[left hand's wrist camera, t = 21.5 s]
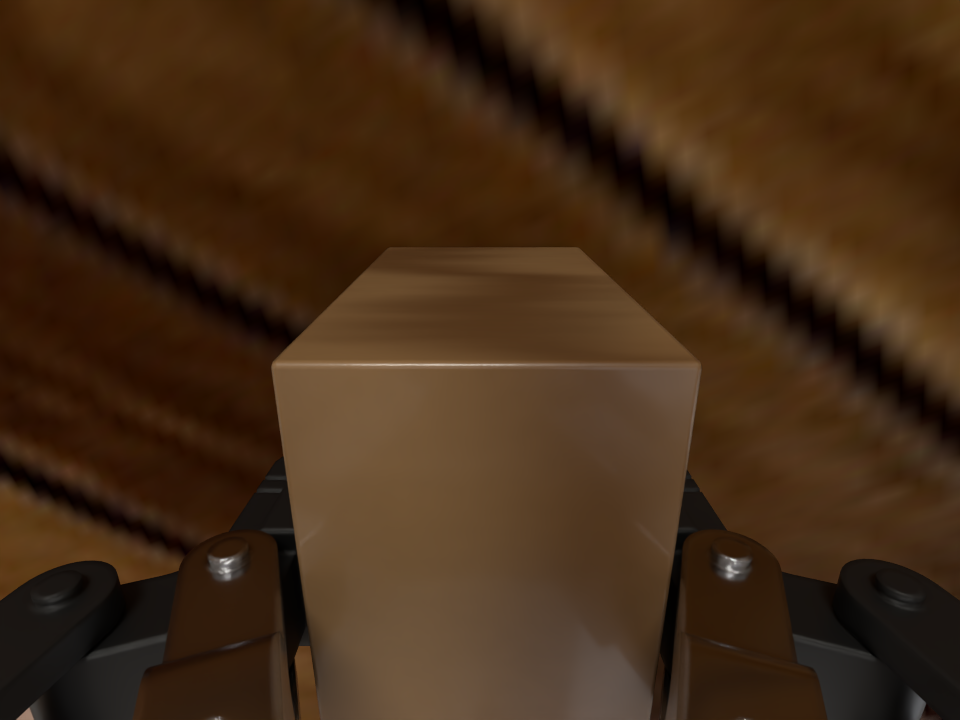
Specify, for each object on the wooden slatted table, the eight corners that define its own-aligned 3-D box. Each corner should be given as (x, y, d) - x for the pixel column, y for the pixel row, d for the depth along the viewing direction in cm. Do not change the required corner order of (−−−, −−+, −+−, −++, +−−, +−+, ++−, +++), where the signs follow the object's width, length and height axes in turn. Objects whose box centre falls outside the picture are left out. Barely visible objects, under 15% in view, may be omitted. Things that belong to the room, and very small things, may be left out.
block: (402, 520, 17) (334, 837, 9) (387, 246, 14) (267, 361, 6) (563, 520, 17) (634, 837, 9) (580, 246, 14) (705, 362, 6)
